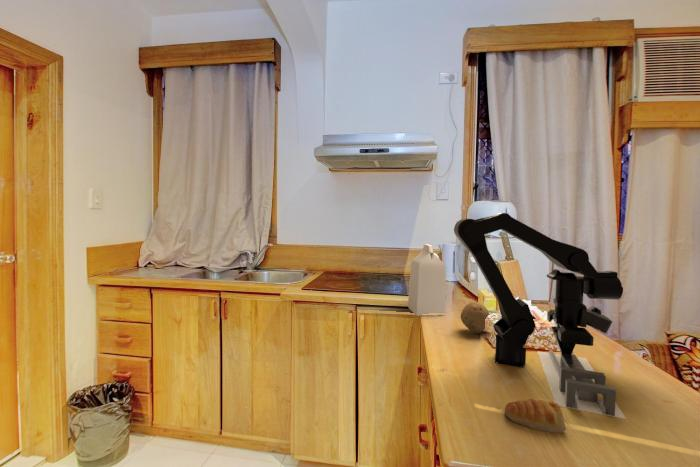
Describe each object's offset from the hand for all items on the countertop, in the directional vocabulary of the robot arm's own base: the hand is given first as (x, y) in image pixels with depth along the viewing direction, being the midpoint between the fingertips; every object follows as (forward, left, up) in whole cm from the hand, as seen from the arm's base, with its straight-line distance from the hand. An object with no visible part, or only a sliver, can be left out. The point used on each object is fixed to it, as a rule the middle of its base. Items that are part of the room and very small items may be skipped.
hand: (566, 359), depth 84 cm
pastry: (-10, -29, -2) cm, 30 cm away
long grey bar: (0, -10, -1) cm, 10 cm away
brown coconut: (-22, +17, -2) cm, 28 cm away
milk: (-41, +35, -2) cm, 54 cm away
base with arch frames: (0, -8, -2) cm, 8 cm away
